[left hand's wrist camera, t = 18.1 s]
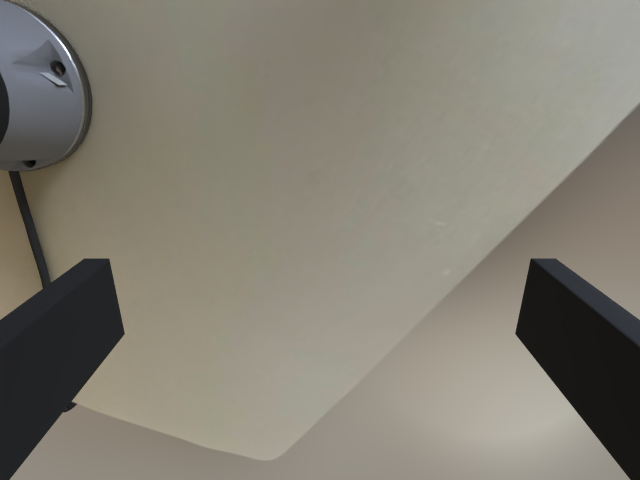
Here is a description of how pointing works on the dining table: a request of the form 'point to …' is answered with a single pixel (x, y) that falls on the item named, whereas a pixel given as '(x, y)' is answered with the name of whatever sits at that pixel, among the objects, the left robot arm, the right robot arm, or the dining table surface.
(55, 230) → the dining table surface
